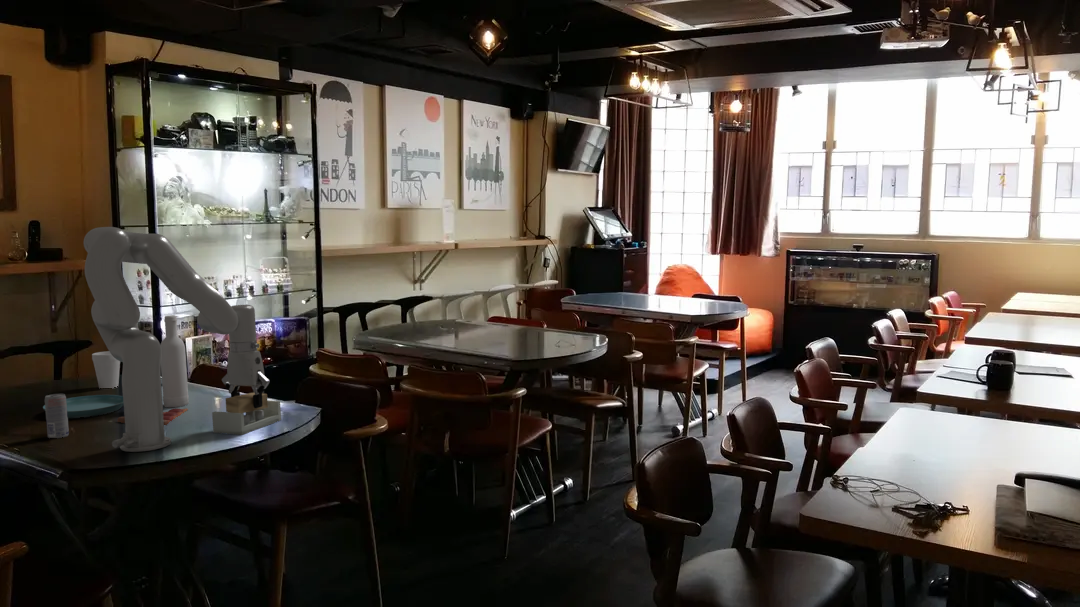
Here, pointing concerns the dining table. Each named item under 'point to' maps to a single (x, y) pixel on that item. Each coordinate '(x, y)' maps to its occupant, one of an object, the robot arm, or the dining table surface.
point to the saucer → (92, 405)
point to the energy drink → (56, 416)
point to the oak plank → (244, 403)
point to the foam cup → (106, 369)
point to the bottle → (173, 366)
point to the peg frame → (246, 419)
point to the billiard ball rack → (164, 415)
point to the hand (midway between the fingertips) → (247, 406)
